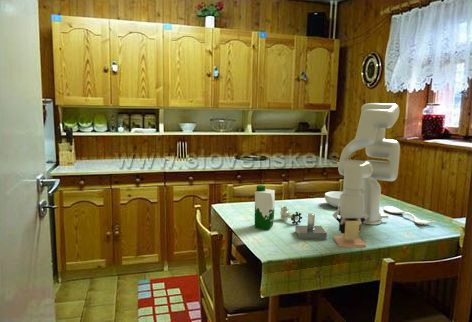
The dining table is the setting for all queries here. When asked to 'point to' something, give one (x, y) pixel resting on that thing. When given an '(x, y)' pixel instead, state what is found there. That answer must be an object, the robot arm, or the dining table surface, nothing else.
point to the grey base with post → (311, 230)
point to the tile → (349, 242)
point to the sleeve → (351, 228)
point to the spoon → (397, 211)
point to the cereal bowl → (333, 198)
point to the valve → (289, 215)
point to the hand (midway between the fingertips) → (349, 232)
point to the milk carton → (264, 208)
